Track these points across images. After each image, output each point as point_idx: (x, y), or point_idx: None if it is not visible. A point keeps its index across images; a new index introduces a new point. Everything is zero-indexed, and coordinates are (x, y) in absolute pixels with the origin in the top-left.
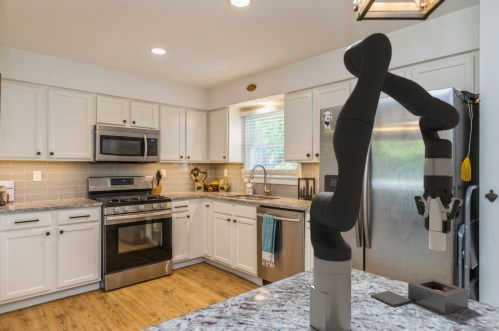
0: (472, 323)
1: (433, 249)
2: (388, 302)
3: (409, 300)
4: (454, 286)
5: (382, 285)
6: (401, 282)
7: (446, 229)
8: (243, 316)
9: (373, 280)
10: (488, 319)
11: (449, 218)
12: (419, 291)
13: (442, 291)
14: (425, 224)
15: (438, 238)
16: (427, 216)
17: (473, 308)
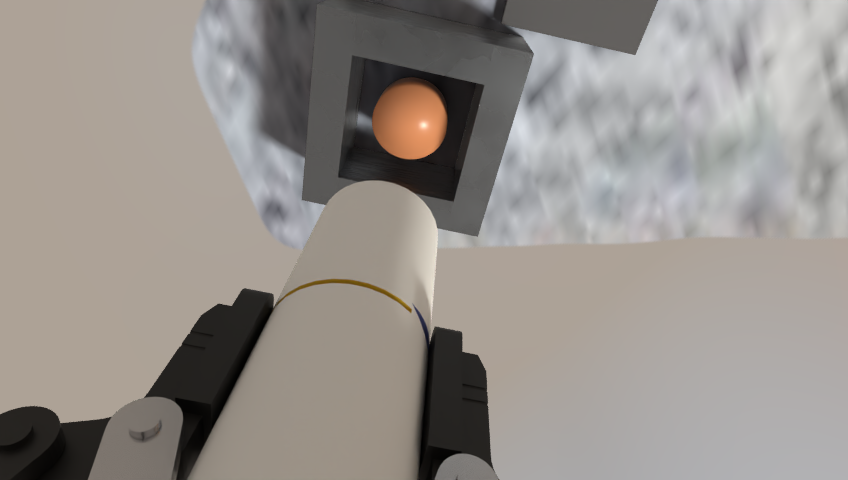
0: (236, 3)
1: (381, 183)
2: None
3: (506, 5)
4: None
5: (688, 127)
6: (620, 238)
7: (216, 323)
8: None
9: (750, 160)
10: (227, 106)
11: (90, 435)
12: (462, 32)
13: (399, 157)
14: (476, 389)
15: (322, 243)
16: (437, 472)
17: None
